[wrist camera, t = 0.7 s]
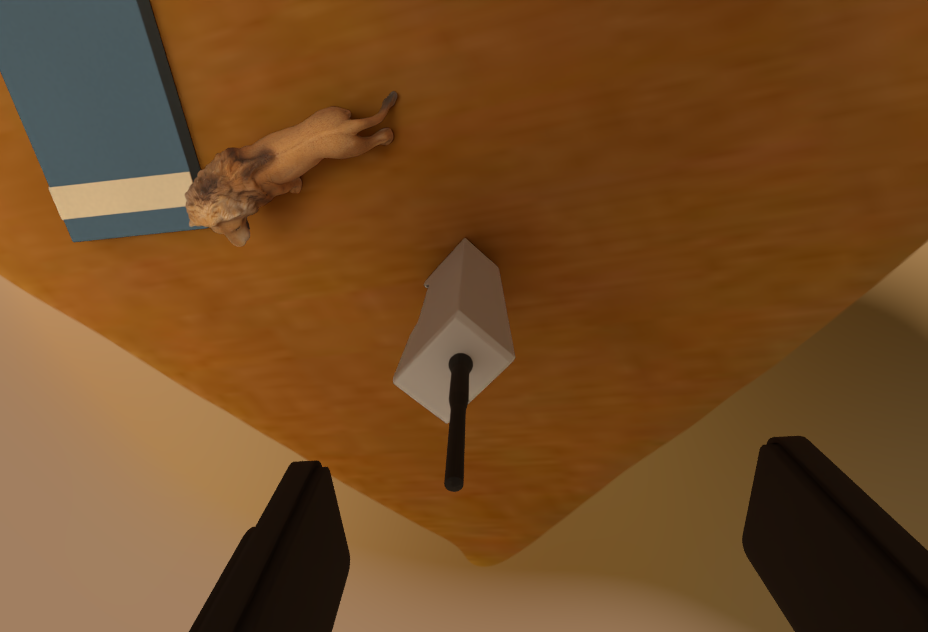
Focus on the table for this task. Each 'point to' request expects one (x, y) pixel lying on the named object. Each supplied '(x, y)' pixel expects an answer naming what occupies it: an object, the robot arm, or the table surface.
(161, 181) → the towel
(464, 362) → the vintage mobile phone
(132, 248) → the table surface
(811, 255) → the table surface
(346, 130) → the lion figurine
